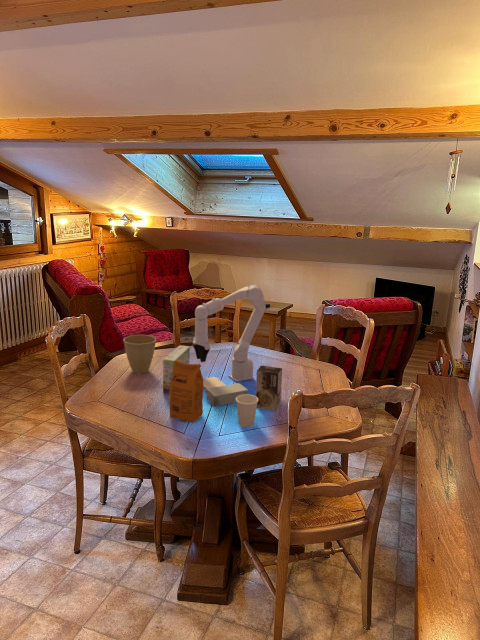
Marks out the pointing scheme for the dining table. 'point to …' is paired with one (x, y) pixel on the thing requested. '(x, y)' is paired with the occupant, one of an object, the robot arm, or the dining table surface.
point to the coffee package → (186, 392)
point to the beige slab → (225, 394)
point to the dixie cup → (246, 409)
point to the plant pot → (140, 352)
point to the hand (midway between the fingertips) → (201, 360)
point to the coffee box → (268, 387)
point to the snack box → (178, 354)
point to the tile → (211, 383)
